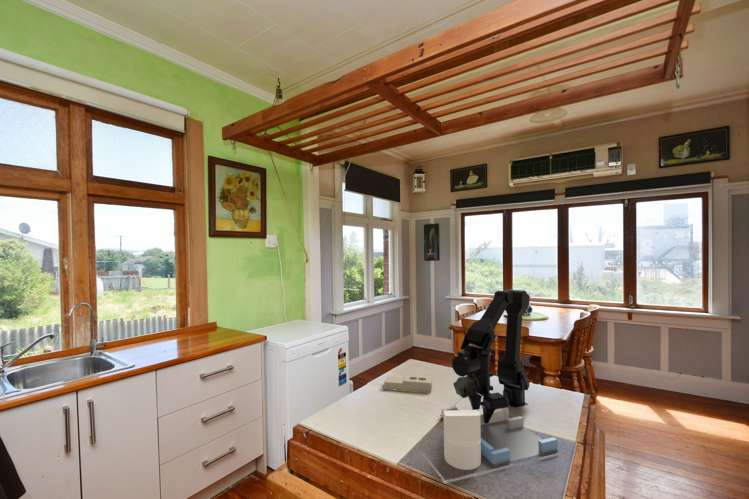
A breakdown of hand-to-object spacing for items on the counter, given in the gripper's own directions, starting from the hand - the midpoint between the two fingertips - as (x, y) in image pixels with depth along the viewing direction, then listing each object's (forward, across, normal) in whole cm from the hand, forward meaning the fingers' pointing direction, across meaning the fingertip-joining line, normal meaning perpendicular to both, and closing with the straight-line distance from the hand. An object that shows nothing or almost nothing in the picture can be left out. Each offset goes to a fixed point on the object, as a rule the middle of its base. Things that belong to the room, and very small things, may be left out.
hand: (481, 419), depth 102 cm
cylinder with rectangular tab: (+2, +14, -16) cm, 21 cm away
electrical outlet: (+2, -33, -10) cm, 35 cm away
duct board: (+1, +6, 0) cm, 6 cm away
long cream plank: (+1, 0, 0) cm, 1 cm away
